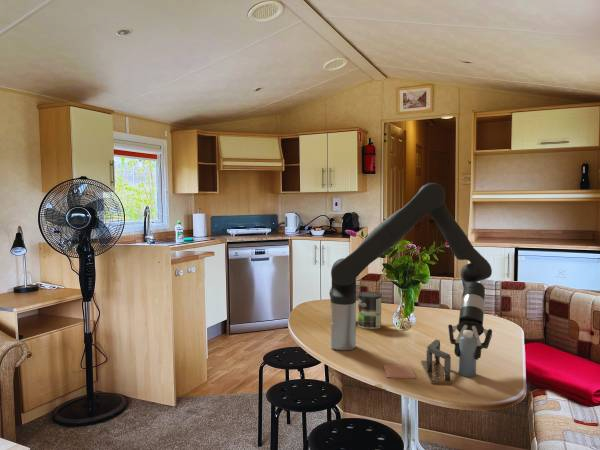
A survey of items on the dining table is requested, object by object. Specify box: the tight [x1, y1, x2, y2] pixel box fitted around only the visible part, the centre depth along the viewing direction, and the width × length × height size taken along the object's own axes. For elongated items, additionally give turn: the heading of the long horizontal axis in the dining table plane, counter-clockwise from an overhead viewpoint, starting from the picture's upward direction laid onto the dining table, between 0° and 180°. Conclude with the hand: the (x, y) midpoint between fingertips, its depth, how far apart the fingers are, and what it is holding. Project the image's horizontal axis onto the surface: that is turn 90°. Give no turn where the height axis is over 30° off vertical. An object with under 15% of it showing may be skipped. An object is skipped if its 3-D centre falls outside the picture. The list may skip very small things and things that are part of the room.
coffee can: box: [357, 291, 383, 330], centre depth 203 cm, size 10×10×14 cm
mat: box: [383, 364, 417, 379], centre depth 152 cm, size 9×10×1 cm
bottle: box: [458, 330, 477, 378], centre depth 149 cm, size 5×5×14 cm
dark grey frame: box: [420, 339, 453, 385], centre depth 150 cm, size 6×17×9 cm, turn 176°
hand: (467, 357), depth 147 cm, fingers closed on bottle, 5 cm apart
